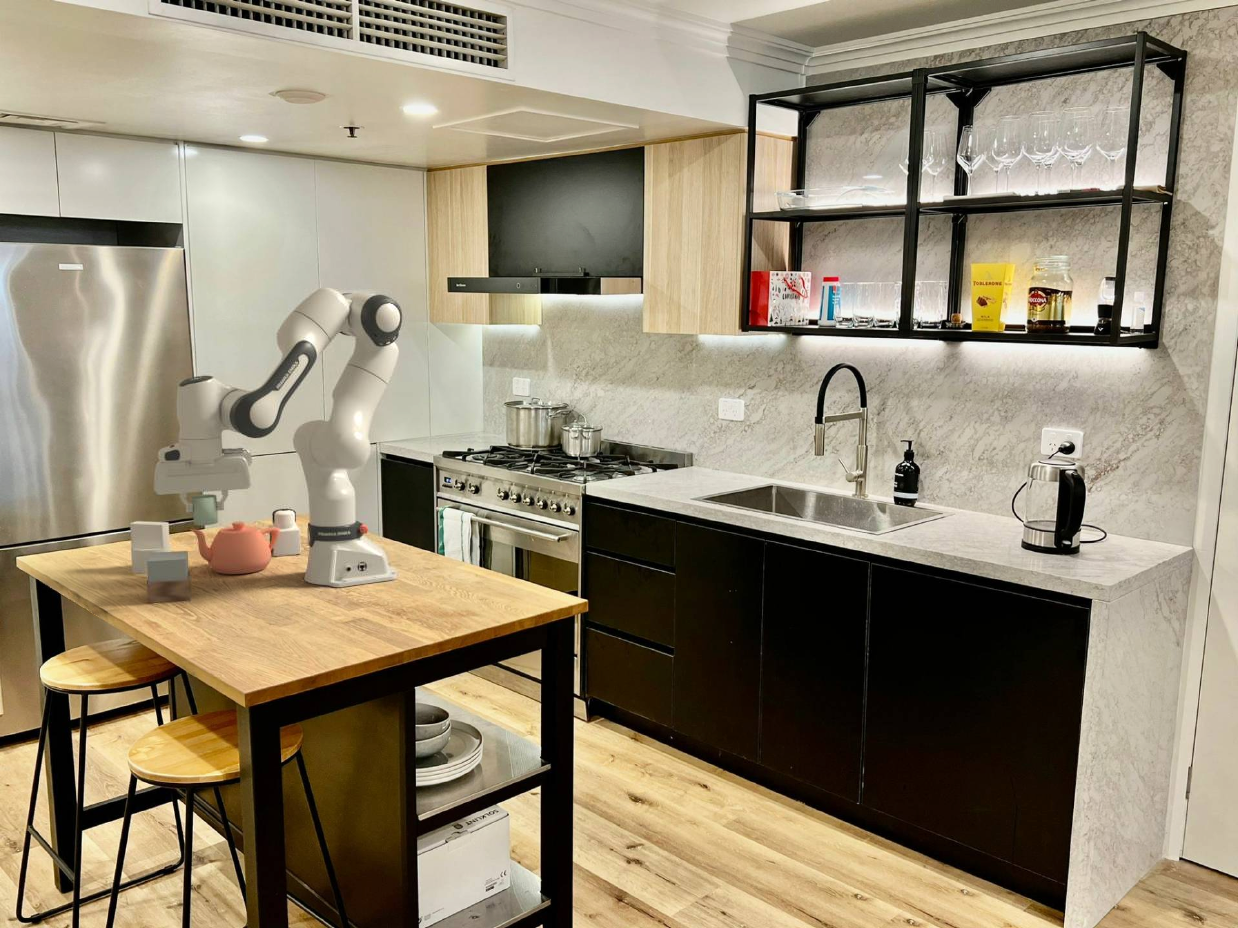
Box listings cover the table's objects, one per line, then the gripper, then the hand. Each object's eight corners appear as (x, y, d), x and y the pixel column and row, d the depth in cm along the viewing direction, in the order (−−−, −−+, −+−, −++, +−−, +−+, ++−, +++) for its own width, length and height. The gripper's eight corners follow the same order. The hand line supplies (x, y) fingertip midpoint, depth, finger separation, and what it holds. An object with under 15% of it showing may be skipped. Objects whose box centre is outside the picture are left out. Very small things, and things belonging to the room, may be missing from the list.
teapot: (198, 582, 250) (196, 533, 248) (184, 568, 262) (182, 521, 260) (289, 570, 262) (287, 523, 260) (272, 558, 274) (270, 512, 272)
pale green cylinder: (217, 519, 233) (215, 493, 232) (218, 524, 229) (216, 497, 228) (193, 521, 231) (192, 495, 230) (194, 526, 227) (192, 499, 226)
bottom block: (191, 591, 243) (190, 570, 242) (190, 601, 235) (189, 580, 234) (149, 594, 240) (148, 573, 239) (147, 605, 232) (146, 583, 231)
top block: (188, 571, 242) (187, 550, 241) (186, 580, 234) (185, 559, 233) (151, 573, 239) (150, 552, 238) (148, 582, 232) (146, 561, 231)
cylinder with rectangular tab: (177, 565, 265) (175, 520, 263) (159, 574, 256) (156, 527, 254) (144, 564, 266) (142, 518, 264) (124, 573, 257) (122, 526, 255)
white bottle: (270, 551, 282) (268, 508, 280) (297, 549, 285) (295, 506, 283) (273, 557, 275) (271, 513, 273) (300, 554, 278) (299, 511, 276)
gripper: (250, 445, 234) (253, 504, 236) (151, 450, 226) (156, 511, 229) (251, 449, 228) (255, 510, 231) (150, 454, 221) (155, 517, 223)
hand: (205, 511), depth 230 cm, fingers closed on pale green cylinder, 5 cm apart
